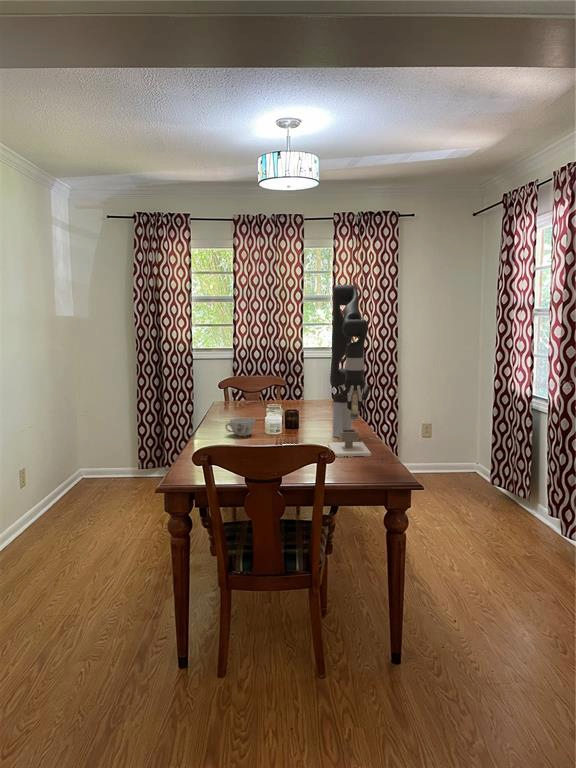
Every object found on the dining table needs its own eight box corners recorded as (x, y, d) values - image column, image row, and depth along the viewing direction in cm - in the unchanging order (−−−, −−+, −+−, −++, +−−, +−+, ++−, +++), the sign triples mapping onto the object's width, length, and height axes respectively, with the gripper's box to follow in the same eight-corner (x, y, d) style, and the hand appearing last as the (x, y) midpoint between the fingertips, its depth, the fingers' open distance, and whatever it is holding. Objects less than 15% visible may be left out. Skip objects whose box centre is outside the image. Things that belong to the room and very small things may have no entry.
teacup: (251, 431, 297) (251, 416, 296) (258, 437, 285) (258, 420, 284) (222, 434, 292) (222, 418, 291) (228, 439, 280) (228, 423, 279)
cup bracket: (327, 445, 267) (327, 426, 266) (362, 445, 268) (362, 425, 267) (333, 457, 247) (333, 436, 246) (371, 456, 248) (371, 435, 247)
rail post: (349, 417, 243) (350, 389, 241) (357, 417, 243) (357, 389, 242) (351, 419, 240) (351, 390, 238) (358, 419, 240) (359, 390, 238)
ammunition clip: (275, 469, 230) (275, 439, 228) (273, 467, 232) (273, 438, 230) (299, 465, 235) (299, 436, 233) (297, 464, 236) (297, 435, 235)
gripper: (370, 367, 243) (369, 408, 245) (336, 367, 242) (336, 408, 244) (373, 369, 235) (373, 411, 238) (339, 369, 235) (338, 411, 237)
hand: (354, 409), depth 241 cm, fingers closed on rail post, 3 cm apart
